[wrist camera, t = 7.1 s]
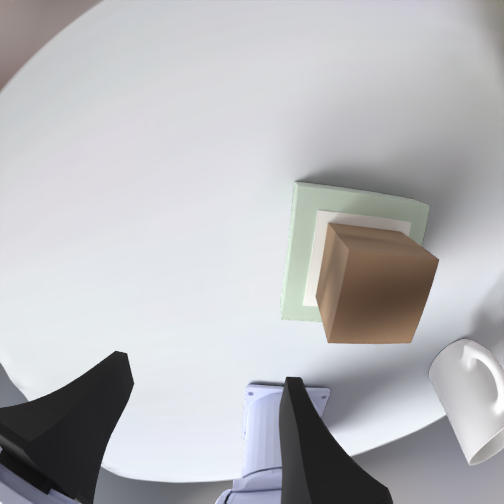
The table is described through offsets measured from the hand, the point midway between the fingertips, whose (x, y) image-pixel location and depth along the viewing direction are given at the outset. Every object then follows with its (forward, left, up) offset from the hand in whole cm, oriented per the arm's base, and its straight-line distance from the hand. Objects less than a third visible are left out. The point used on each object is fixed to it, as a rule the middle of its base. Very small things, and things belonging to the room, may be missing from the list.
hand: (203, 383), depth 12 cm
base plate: (+3, -8, -10) cm, 14 cm away
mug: (-6, -23, -11) cm, 26 cm away
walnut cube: (+3, -8, -8) cm, 12 cm away
